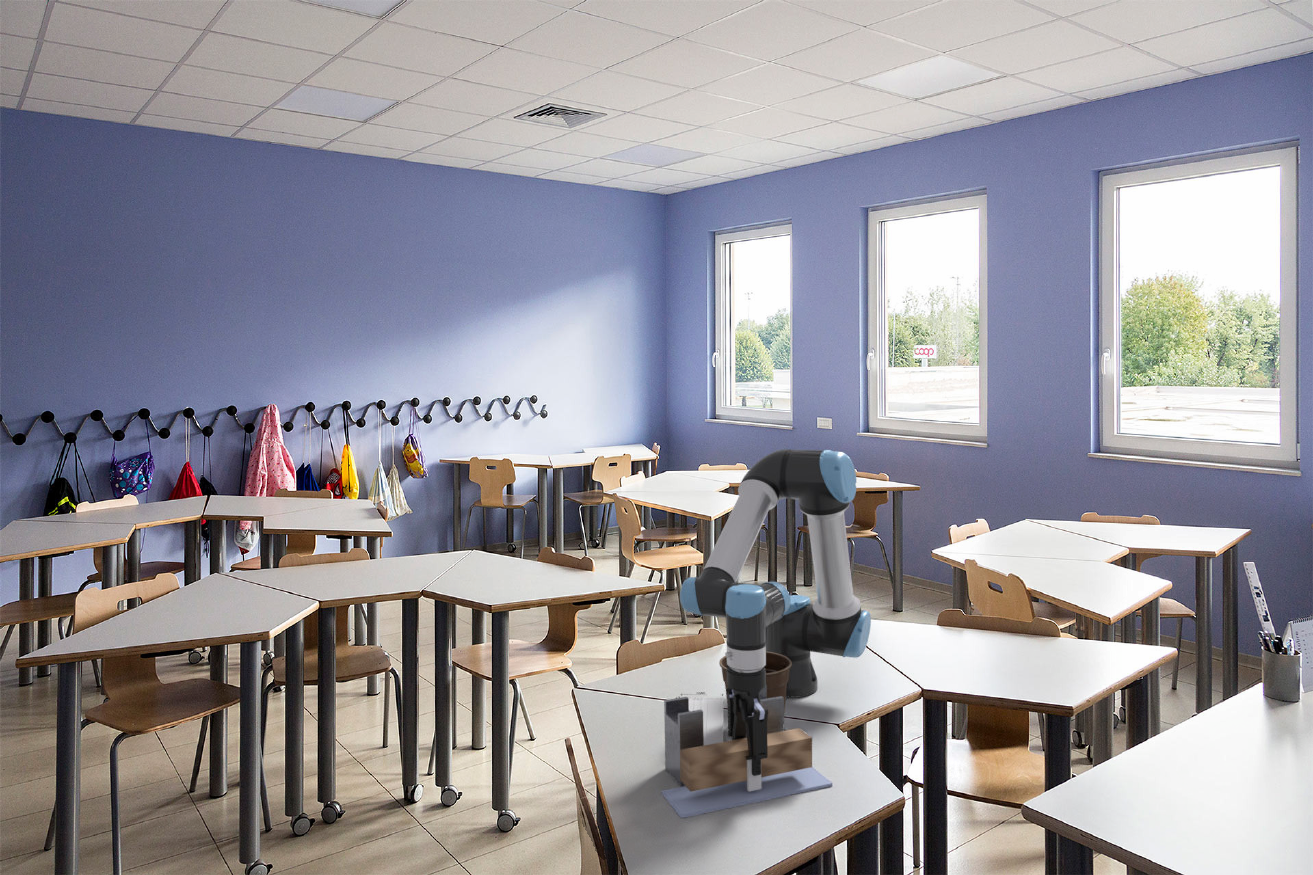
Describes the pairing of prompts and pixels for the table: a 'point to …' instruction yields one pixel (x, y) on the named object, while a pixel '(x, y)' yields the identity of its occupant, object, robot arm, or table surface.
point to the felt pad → (743, 792)
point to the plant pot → (769, 674)
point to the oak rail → (743, 759)
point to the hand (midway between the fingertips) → (747, 782)
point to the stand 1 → (680, 732)
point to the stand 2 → (773, 711)
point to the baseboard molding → (709, 717)
